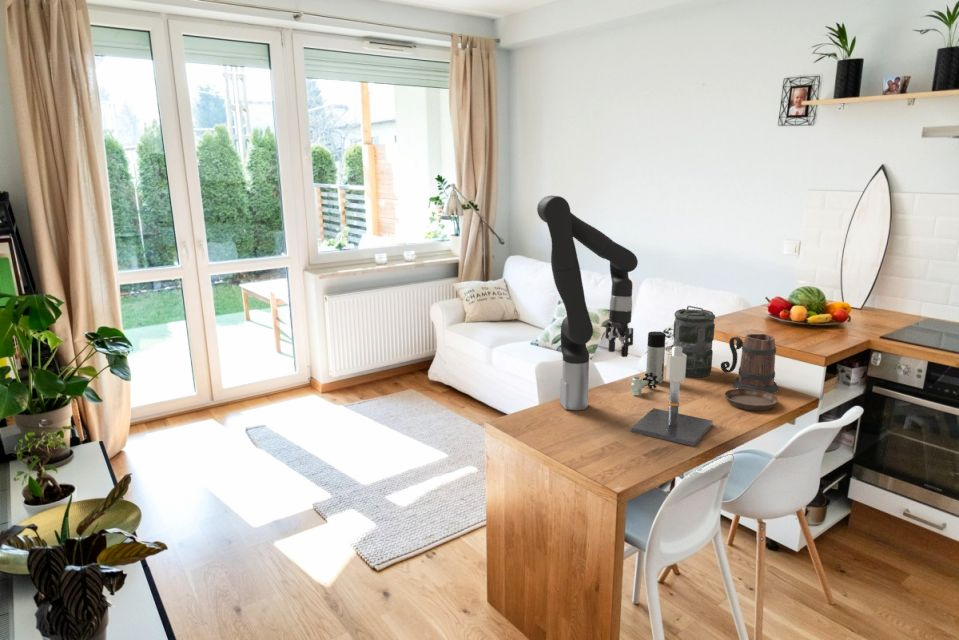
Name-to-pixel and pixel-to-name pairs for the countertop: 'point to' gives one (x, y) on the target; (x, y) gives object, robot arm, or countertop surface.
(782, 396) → the countertop surface
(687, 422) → the pipe stand
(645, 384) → the valve
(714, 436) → the countertop surface
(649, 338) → the spray can
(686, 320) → the canister
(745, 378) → the tankard
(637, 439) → the countertop surface
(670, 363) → the sleeve
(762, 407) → the plant saucer
